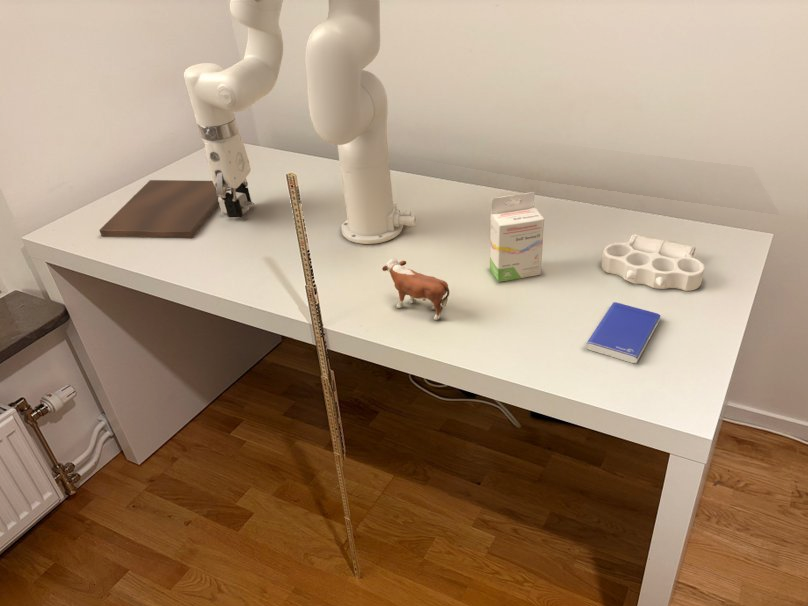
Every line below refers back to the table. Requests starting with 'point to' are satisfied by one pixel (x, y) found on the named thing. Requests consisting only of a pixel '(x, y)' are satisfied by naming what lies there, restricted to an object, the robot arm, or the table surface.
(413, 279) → the bull figurine
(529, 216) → the ink box
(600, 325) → the hard drive
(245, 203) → the usb wall charger
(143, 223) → the walnut board
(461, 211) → the table surface
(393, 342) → the table surface
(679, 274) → the white brass knuckles
